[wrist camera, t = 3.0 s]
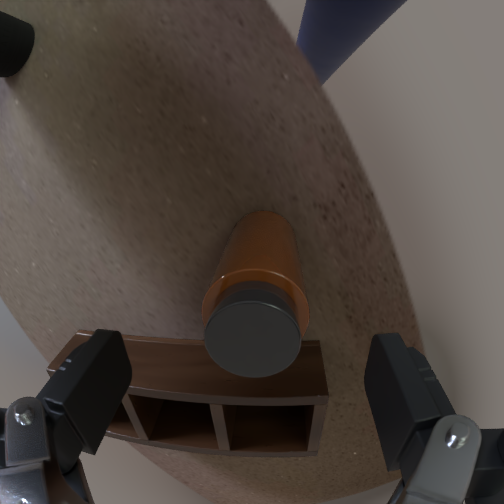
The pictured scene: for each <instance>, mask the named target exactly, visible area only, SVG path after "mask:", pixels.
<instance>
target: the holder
mask: <svg viewBox="0 0 504 504" xmlns="http://www.w3.org/2000/svg"><path fill="white" fill-rule="evenodd" d="M93 333H94V331H86V330H78V331H77V333H76V334H75V335H74V336H73V337H72V339H71V340H70V341H69V342H68V343H67V344H66V346H65V347H64V348H63V349H62V350H61V352H60V353H59V354H58V355H57V356H56V358H55V359H54V360H53V361H52V362H51V364H50V365H49V366H48V367H47V369H46V370H47V372H48V374H49V376H50V378H51V377H52V375H53V374H54V373H55V372H56V370H57V369H58V370H59V367H60V365H61V364H62V363H63V362H64V361H65V359H66V358H67V357H68V355H69V354H70V353H71V352H72V350H73V349H75V348H76V347H78V346H79V345H81V344H82V343H84V342H87V341H88V339H89V338H90V337H91V336H92V334H93ZM122 338H123V341H124V344H125V348H126V351H127V354H128V357H129V360H130V363H131V367H132V380H131V384H130V386H129V388H128V390H127V392H126V393H125V395H124V397H123V399H122V401H121V403H120V405H119V407H118V409H117V411H116V413H115V415H114V417H113V419H112V421H111V423H110V425H109V427H108V429H107V431H106V433H105V435H104V436H108V437H112V438H116V439H120V440H125V441H129V442H134V443H139V444H144V445H149V446H154V447H160V448H166V449H172V450H179V451H187V452H195V453H204V454H214V455H227V456H244V457H305V456H317V453H318V448H319V444H320V439H321V434H322V430H323V425H324V420H325V414H326V409H327V403H328V398H329V394H328V388H327V381H326V376H325V370H324V364H323V358H322V353H321V347H320V341H319V340H317V341H302V342H301V348H300V351H299V353H298V355H297V357H296V359H295V360H294V361H293V362H292V364H291V365H289V366H288V367H287V368H286V369H284V370H283V371H281V372H279V373H277V374H274V375H271V376H267V377H260V378H250V377H243V376H239V375H236V374H233V373H230V372H228V371H226V370H225V369H223V368H222V367H220V366H219V365H218V364H217V363H216V362H215V361H214V360H213V359H212V358H211V357H210V355H209V353H208V351H207V349H206V346H205V342H204V340H187V339H170V338H155V337H143V336H131V335H122Z"/></svg>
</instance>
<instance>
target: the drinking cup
mask: <svg viewBox="0 0 504 504" xmlns="http://www.w3.org/2000/svg"><path fill="white" fill-rule="evenodd" d="M33 43H34V29H33V27H32V26H31V25H30V24H29V23H26V22H24V21H22V20H20V19H18V18H15V17H13V16H11V15H8V14H6V13H4V12H1V11H0V77H9V76H12V75H14V74H15V73H17V72H18V71H19V70H20V69H21V68H22V66H23V65H24V64H25V62H26V61H27V59H28V57H29V55H30V53H31V50H32V47H33Z"/></svg>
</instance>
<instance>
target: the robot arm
mask: <svg viewBox="0 0 504 504" xmlns="http://www.w3.org/2000/svg"><path fill="white" fill-rule="evenodd" d="M131 380H132V367H131V363H130V360H129V357H128V354H127V351H126V348H125V344H124V341H123V338H122V335H121V333H120V332H119V331H113V330H103V329H97V330H96V331H95V332H94V333H93V334H92V336H91V337H90V338H89V339H88V341H87V342H84V343H82V344H81V345H79V346H78V347H76V348H75V349H73V350H72V352H71V353H70V354H69V355H68V357H67V358H66V359H65V361H64V362H63V363H62V364H61V365H60V367H59V370H58V369H57V370H56V372H55V373H54V374H53V375H52V377H51V378H50V379H49V381H48V382H47V383H46V385H45V386H44V387H43V389H42V390H41V391H40V393H39V394H38V395H37V396H36V398H34V397H23V398H20V399H18V400H16V401H14V402H13V403H12V404H11V405H10V406H9V407H8V409H6V408H0V504H95V503H94V501H93V498H92V495H91V492H90V489H89V486H88V483H87V480H86V476H85V473H84V470H83V466H82V463H81V460H80V459H79V455H80V453H81V451H83V452H86V453H89V454H93V455H95V454H96V451H97V449H98V447H99V445H100V443H101V441H102V439H103V437H104V435H105V433H106V431H107V429H108V427H109V425H110V423H111V421H112V419H113V417H114V415H115V413H116V411H117V409H118V407H119V405H120V403H121V401H122V399H123V397H124V395H125V393H126V392H127V390H128V388H129V386H130V384H131ZM364 385H365V391H366V394H367V397H368V401H369V404H370V408H371V411H372V414H373V418H374V421H375V425H376V429H377V432H378V436H379V439H380V443H381V447H382V451H383V454H384V458H385V462H386V466H387V470H388V472H389V471H394V470H399V469H401V473H402V478H401V480H400V482H399V483H398V485H397V487H396V489H395V491H394V493H393V495H392V496H391V498H390V500H389V501H388V503H387V504H463V501H464V500H465V504H504V429H479V427H478V425H477V424H476V423H475V422H474V421H473V420H471V419H470V418H468V417H465V416H462V415H457V414H456V413H455V411H454V409H453V407H452V405H451V403H450V401H449V399H448V397H447V395H446V394H445V392H444V390H443V388H442V386H441V384H440V383H439V381H438V380H437V379H436V375H435V374H434V372H433V370H431V366H430V365H429V363H428V361H427V360H426V358H425V356H424V355H422V354H421V353H420V352H419V351H417V350H416V349H415V348H414V347H408V348H407V347H406V345H405V344H404V342H403V340H402V338H401V336H400V335H399V334H398V333H388V334H375V335H374V336H373V338H372V342H371V347H370V351H369V356H368V361H367V365H366V369H365V375H364Z"/></svg>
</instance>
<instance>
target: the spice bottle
mask: <svg viewBox="0 0 504 504" xmlns="http://www.w3.org/2000/svg"><path fill="white" fill-rule="evenodd" d="M201 314H202V321H203V324H204V327H205V330H204V342H205V346H206V349H207V351H208V353H209V355H210V357H211V358H212V359H213V360H214V361H215V362H216V363H217V364H218V365H219V366H220V367H222V368H223V369H225V370H226V371H228V372H230V373H233V374H236V375H239V376H243V377H250V378H260V377H267V376H271V375H274V374H277V373H279V372H281V371H283V370H284V369H286V368H287V367H288V366H289V365H291V364H292V362H293V361H294V360H295V359H296V357H297V355H298V353H299V351H300V348H301V342H302V337H303V336H304V334H305V332H306V330H307V328H308V324H309V319H310V310H309V305H308V299H307V294H306V288H305V283H304V277H303V272H302V267H301V262H300V256H299V251H298V246H297V241H296V236H295V233H294V230H293V228H292V226H291V225H290V223H289V222H288V221H287V220H286V219H285V218H283V217H282V216H280V215H278V214H276V213H274V212H270V211H256V212H252V213H250V214H248V215H246V216H244V217H243V218H241V219H240V220H239V221H238V223H237V224H236V225H235V227H234V229H233V231H232V233H231V236H230V238H229V240H228V243H227V245H226V247H225V250H224V252H223V254H222V256H221V259H220V261H219V263H218V266H217V268H216V270H215V273H214V275H213V278H212V280H211V282H210V285H209V287H208V289H207V292H206V294H205V297H204V299H203V303H202V309H201Z"/></svg>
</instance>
